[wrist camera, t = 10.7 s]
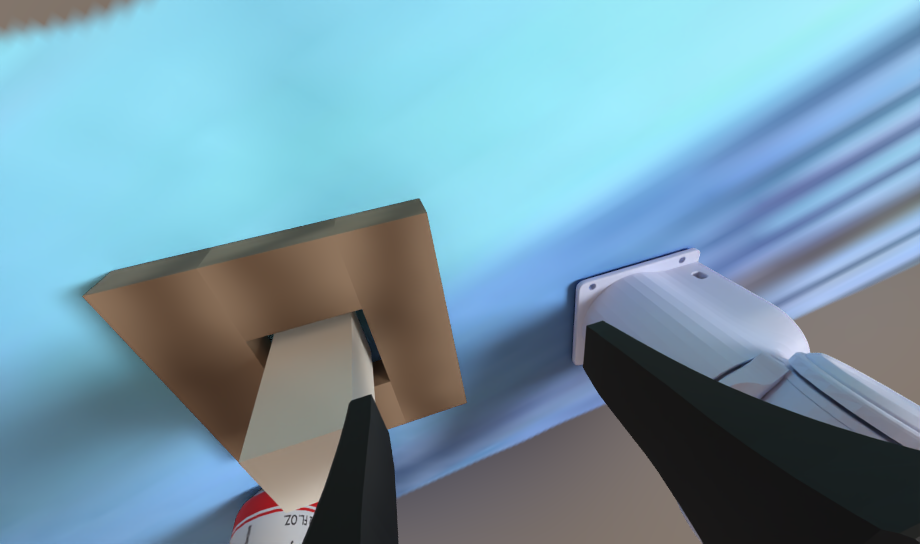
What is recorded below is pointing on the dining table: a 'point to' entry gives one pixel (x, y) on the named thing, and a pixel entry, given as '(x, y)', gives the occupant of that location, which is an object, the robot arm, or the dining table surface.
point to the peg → (305, 407)
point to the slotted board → (291, 313)
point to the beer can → (270, 522)
